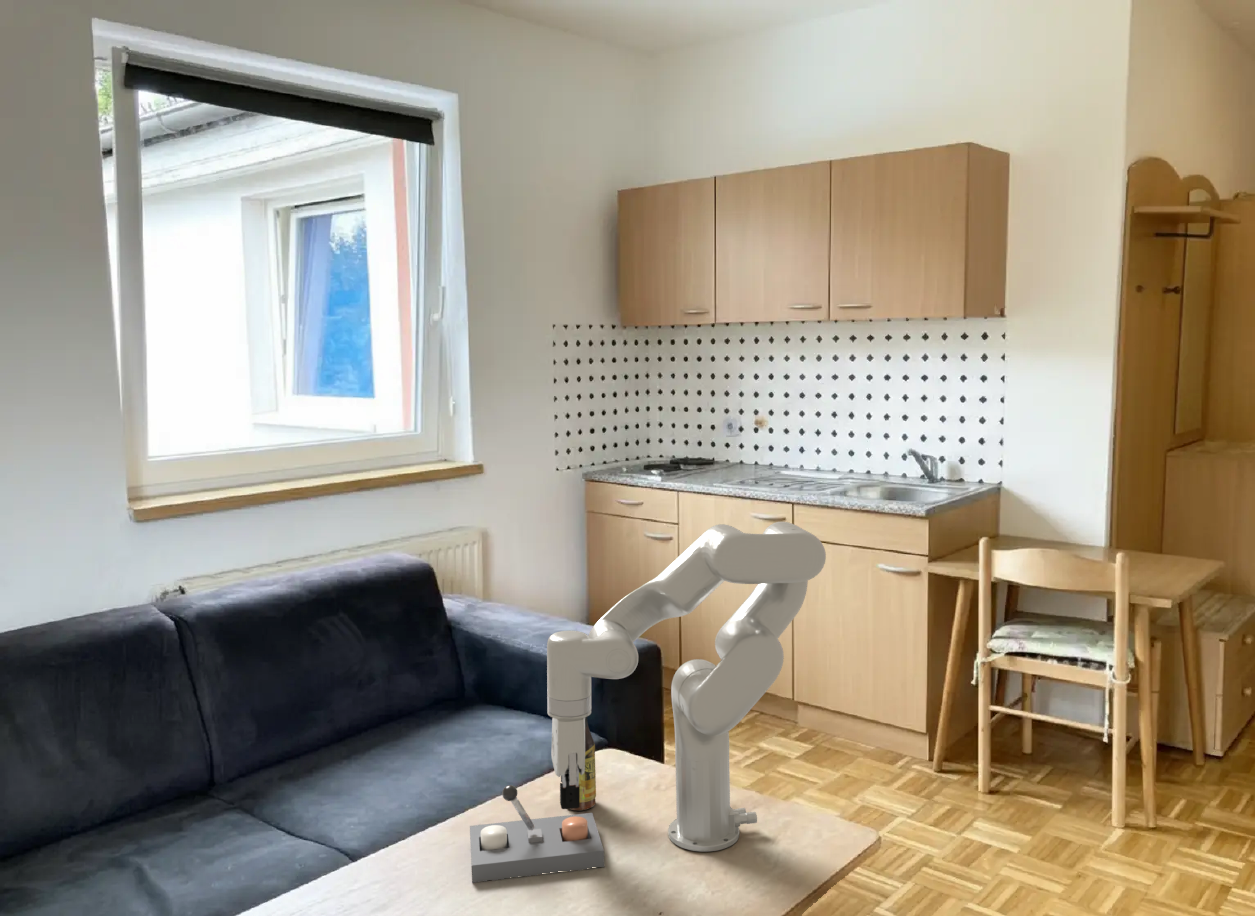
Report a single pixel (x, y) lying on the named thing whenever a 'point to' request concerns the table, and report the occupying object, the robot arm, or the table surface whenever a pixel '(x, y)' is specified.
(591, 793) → the sauce bottle
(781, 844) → the table surface
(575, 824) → the terracotta button
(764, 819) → the table surface
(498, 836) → the offwhite button
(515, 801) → the toggle lever
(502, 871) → the control panel
